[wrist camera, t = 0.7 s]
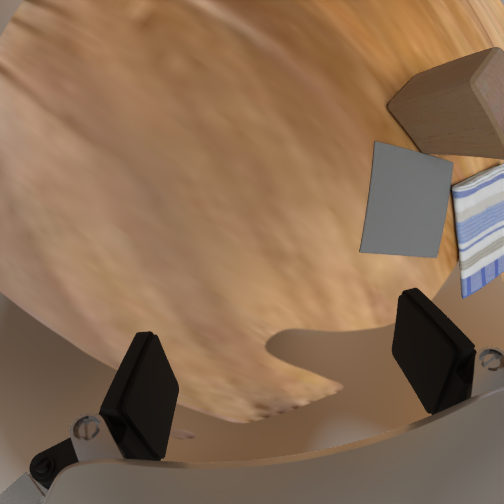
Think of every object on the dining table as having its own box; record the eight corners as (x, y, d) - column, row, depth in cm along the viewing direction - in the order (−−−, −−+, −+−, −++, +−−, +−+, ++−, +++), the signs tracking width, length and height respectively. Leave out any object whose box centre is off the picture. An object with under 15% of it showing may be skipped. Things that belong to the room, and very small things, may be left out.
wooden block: (451, 120, 35) (540, 116, 16) (421, 156, 37) (517, 165, 18) (415, 72, 32) (501, 42, 13) (382, 106, 35) (473, 80, 15)
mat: (374, 141, 36) (375, 141, 36) (452, 162, 37) (453, 162, 37) (359, 251, 42) (360, 252, 42) (435, 257, 43) (436, 257, 42)
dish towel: (500, 160, 37) (509, 162, 34) (506, 264, 44) (514, 268, 41) (447, 183, 38) (457, 185, 35) (457, 297, 46) (465, 303, 43)
